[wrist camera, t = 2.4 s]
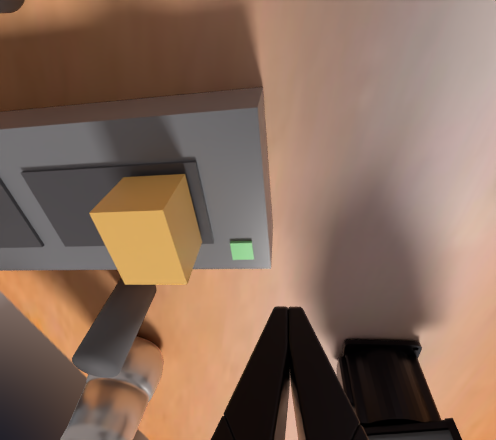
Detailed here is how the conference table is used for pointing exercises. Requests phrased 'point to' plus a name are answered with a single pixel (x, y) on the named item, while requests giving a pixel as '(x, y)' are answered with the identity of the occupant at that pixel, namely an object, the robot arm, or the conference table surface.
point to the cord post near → (10, 5)
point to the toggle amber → (150, 229)
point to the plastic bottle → (118, 397)
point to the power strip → (134, 175)
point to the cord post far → (114, 330)
